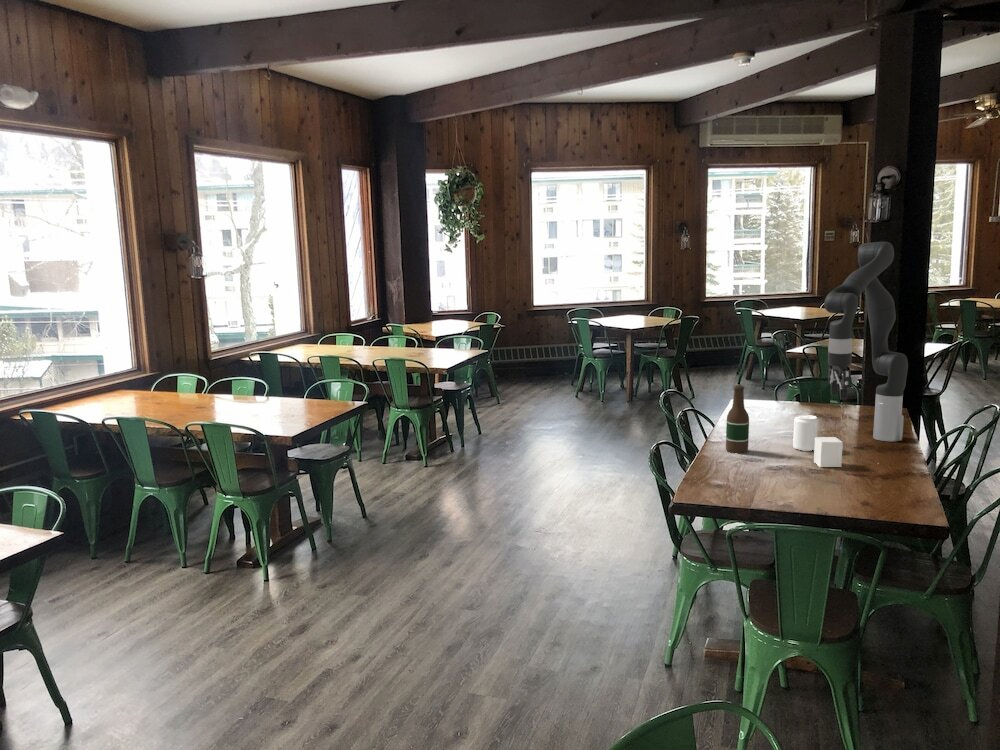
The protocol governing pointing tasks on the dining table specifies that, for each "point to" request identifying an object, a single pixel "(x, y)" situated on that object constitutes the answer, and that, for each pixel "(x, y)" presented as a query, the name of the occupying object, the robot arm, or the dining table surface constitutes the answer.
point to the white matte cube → (828, 452)
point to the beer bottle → (737, 424)
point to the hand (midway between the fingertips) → (838, 397)
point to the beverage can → (805, 432)
